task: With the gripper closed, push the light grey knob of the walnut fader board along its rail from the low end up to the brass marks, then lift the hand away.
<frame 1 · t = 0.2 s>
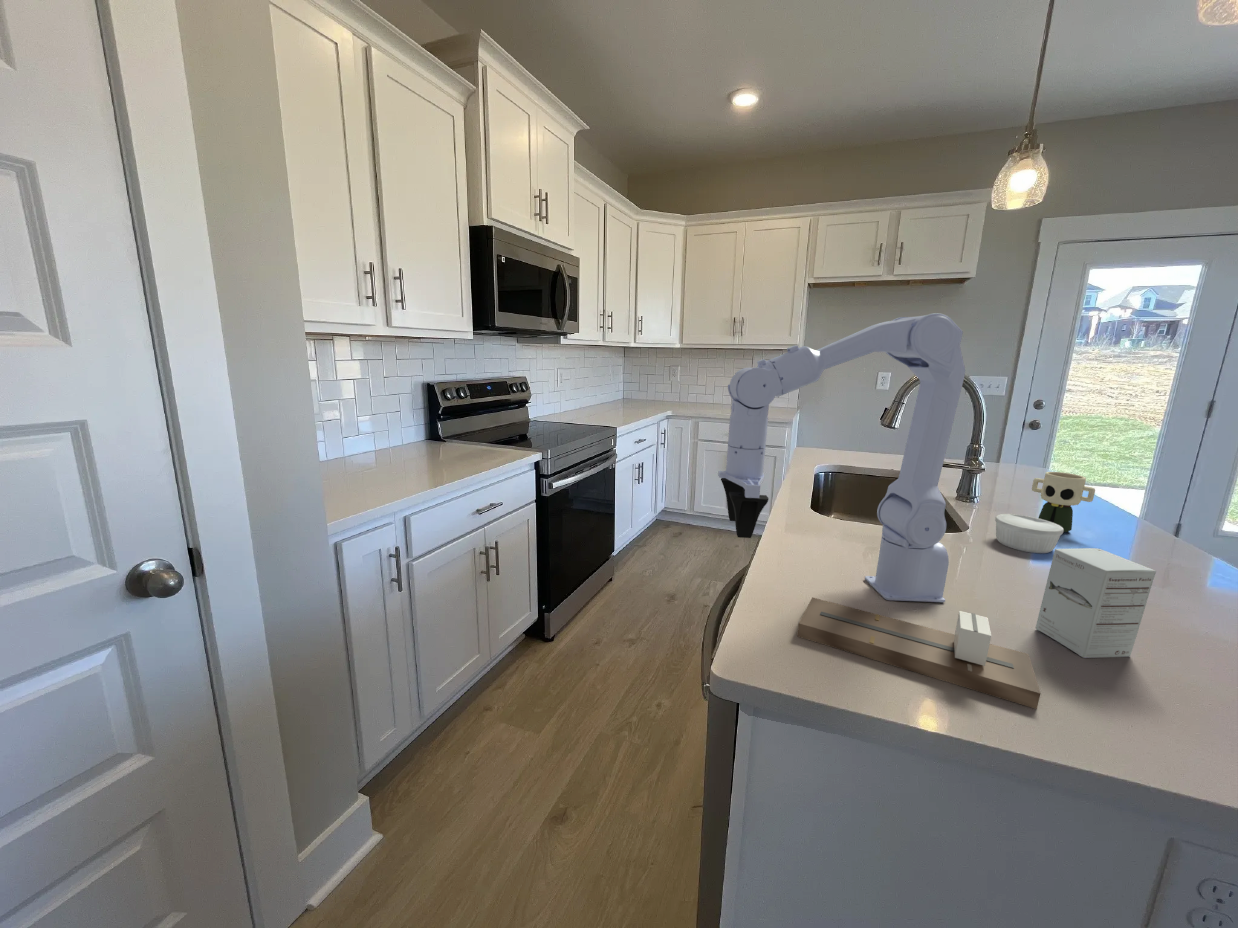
hand: (739, 528, 82), 10 cm above the counter, tool pointing down, fingers open, 7 cm apart
character mug: (1052, 530, 117), on the counter
fader board: (906, 651, 67), on the counter
fader knob: (971, 636, 63), point 4 cm above the counter, slide at 0.0 cm
ramekin: (1023, 546, 107), on the counter
supplement box: (1080, 644, 70), on the counter
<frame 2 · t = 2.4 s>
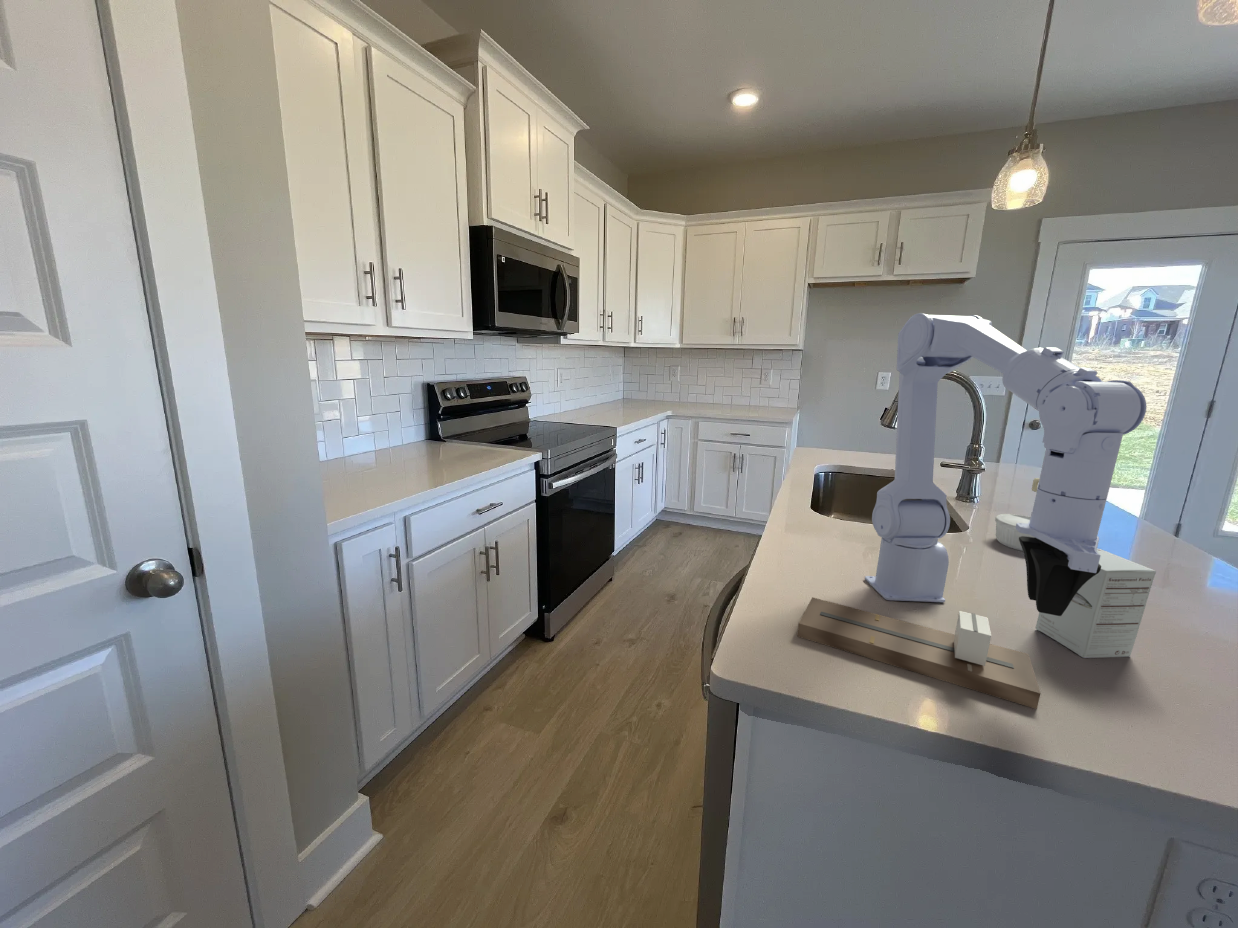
hand: (1044, 606, 58), 10 cm above the counter, tool pointing down, fingers open, 3 cm apart
nothing on the counter moved.
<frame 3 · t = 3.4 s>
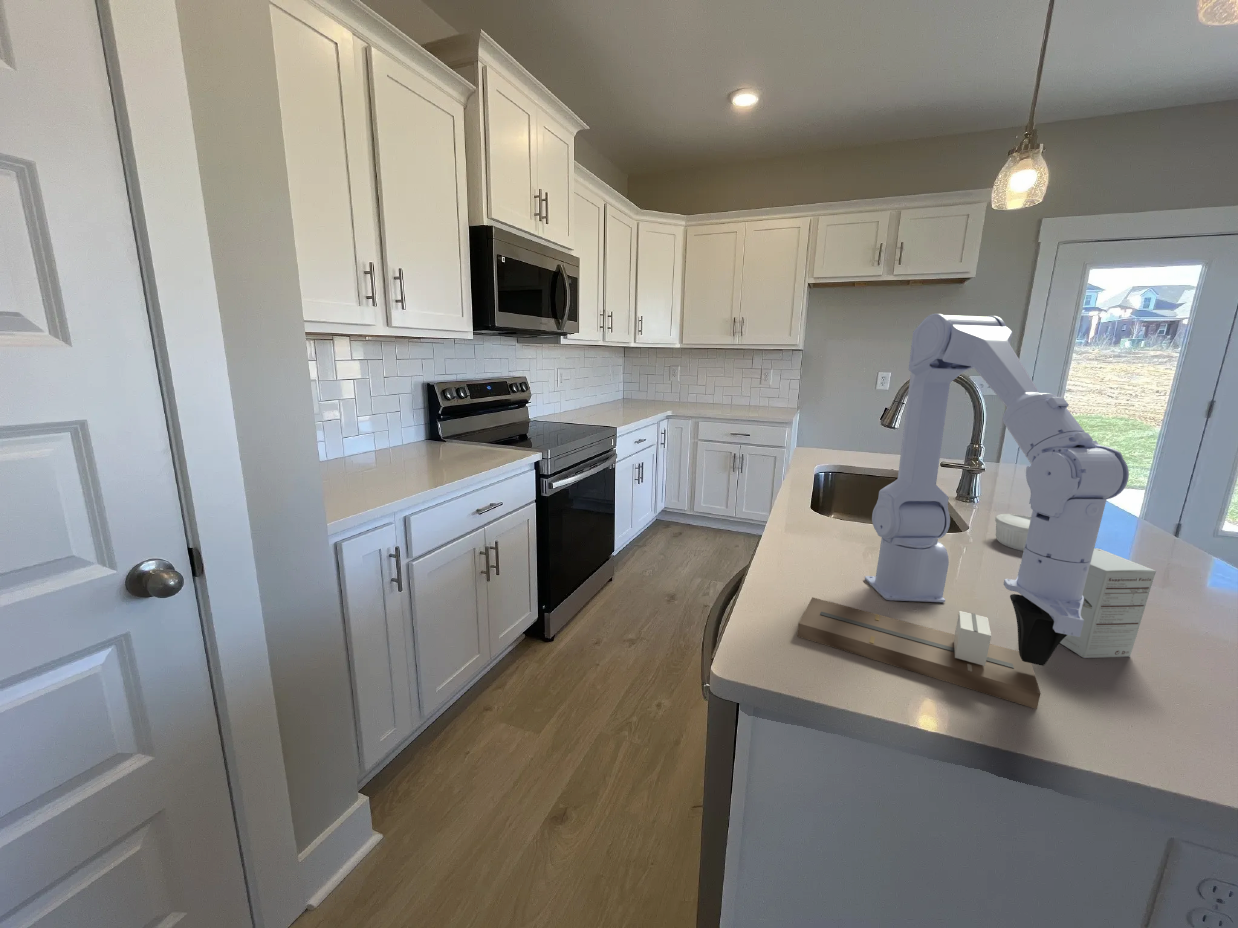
hand: (1031, 660, 60), 3 cm above the counter, tool pointing down, fingers closed
nothing on the counter moved.
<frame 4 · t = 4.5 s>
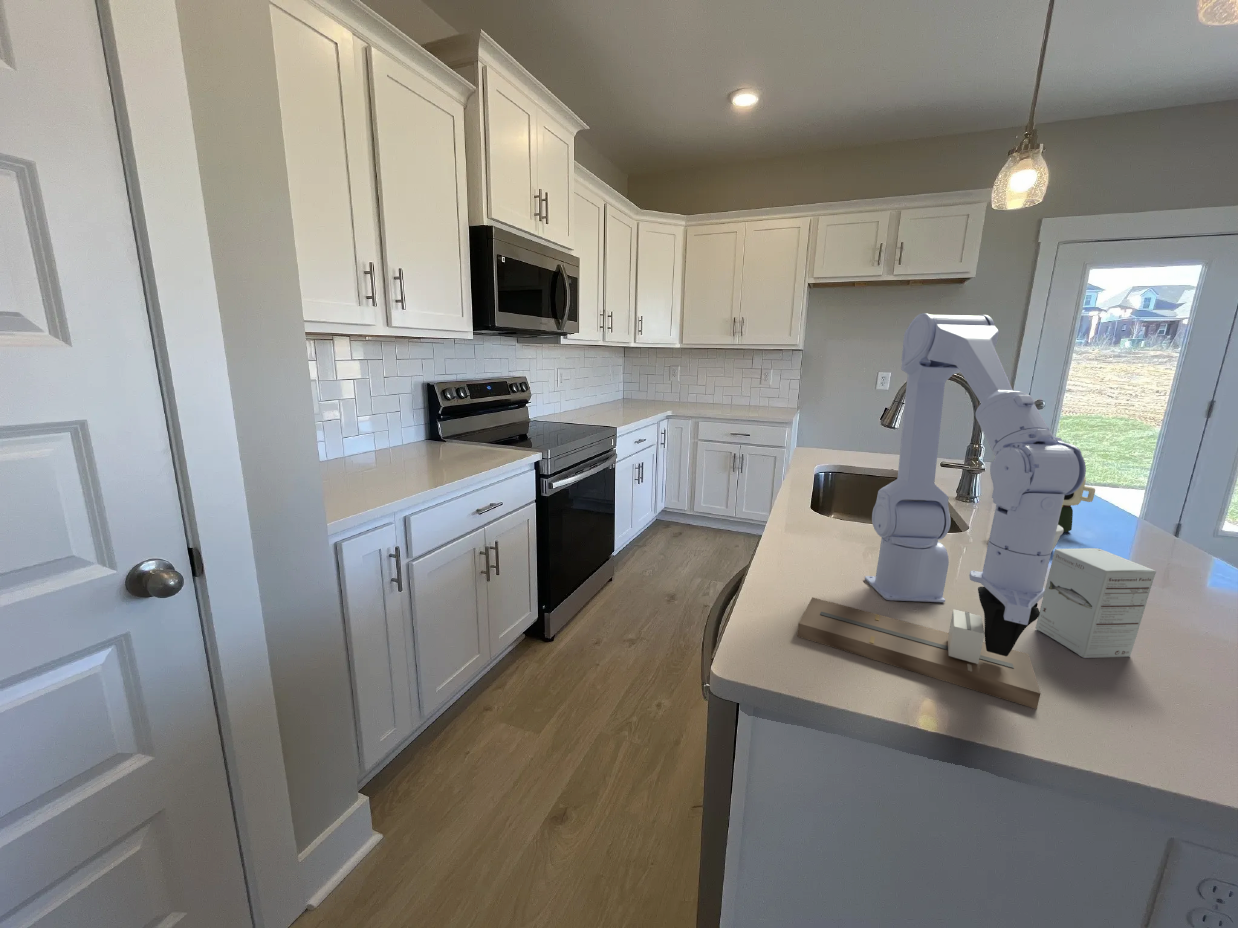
hand: (996, 651, 61), 3 cm above the counter, tool pointing down, fingers closed, pressing on fader knob
fader knob: (965, 635, 63), point 4 cm above the counter, slide at 0.7 cm, touching gripper
everything else where it was.
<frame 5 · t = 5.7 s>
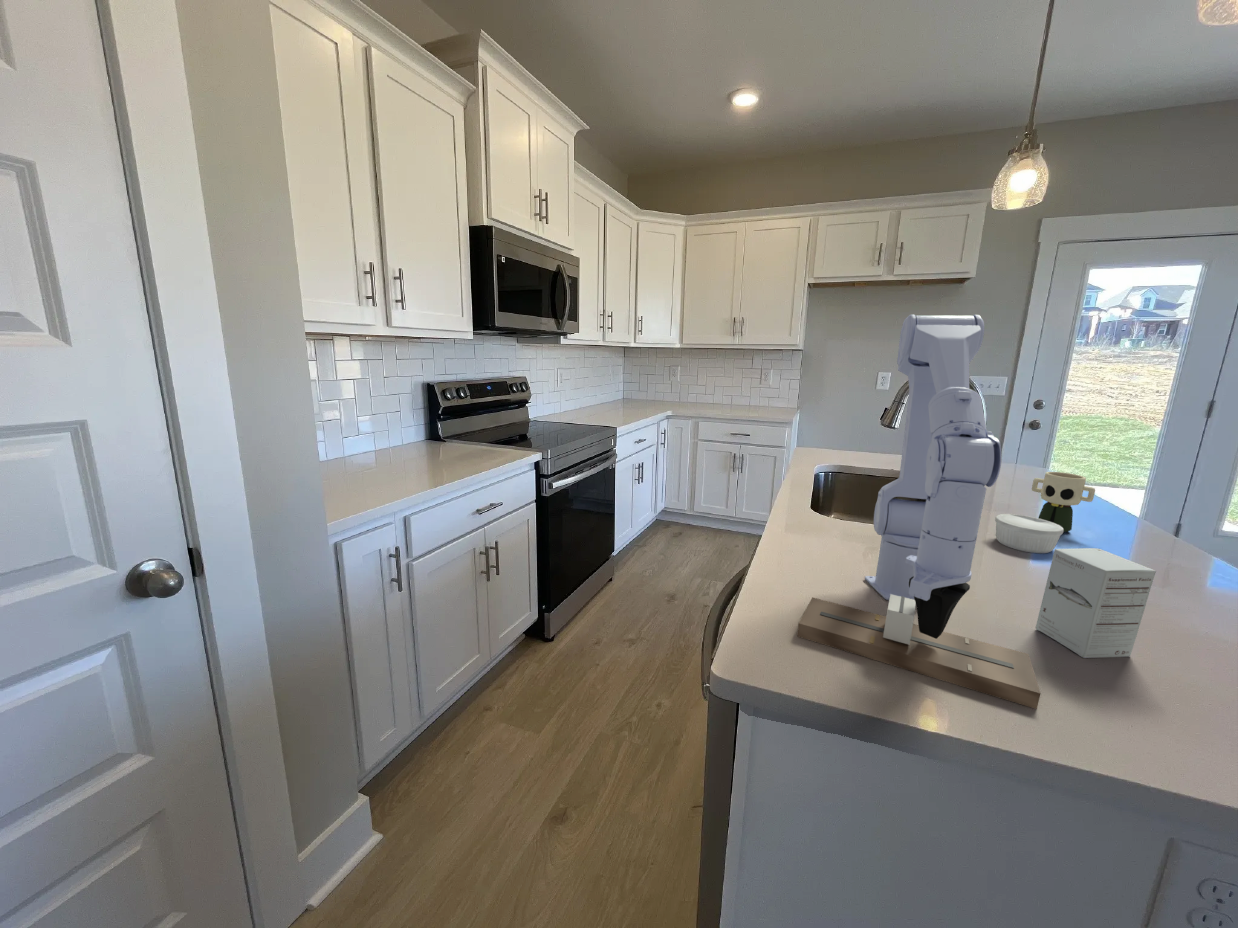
hand: (930, 633, 65), 3 cm above the counter, tool pointing down, fingers closed
fader knob: (899, 618, 67), point 4 cm above the counter, slide at 7.9 cm, touching gripper
everything else where it was.
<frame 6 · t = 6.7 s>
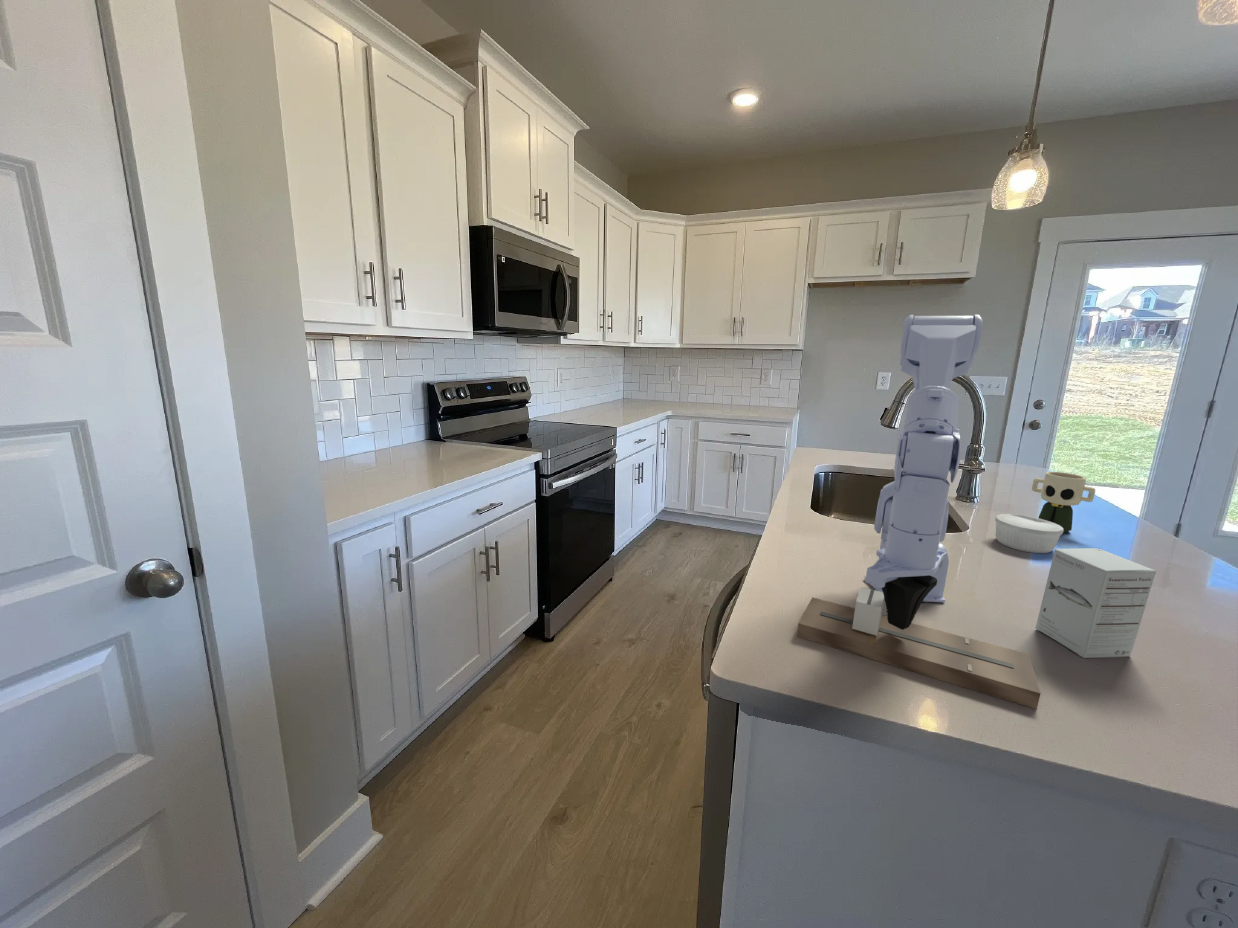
hand: (898, 624, 67), 3 cm above the counter, tool pointing down, fingers closed
fader knob: (868, 610, 68), point 4 cm above the counter, slide at 11.6 cm, touching gripper
everything else where it was.
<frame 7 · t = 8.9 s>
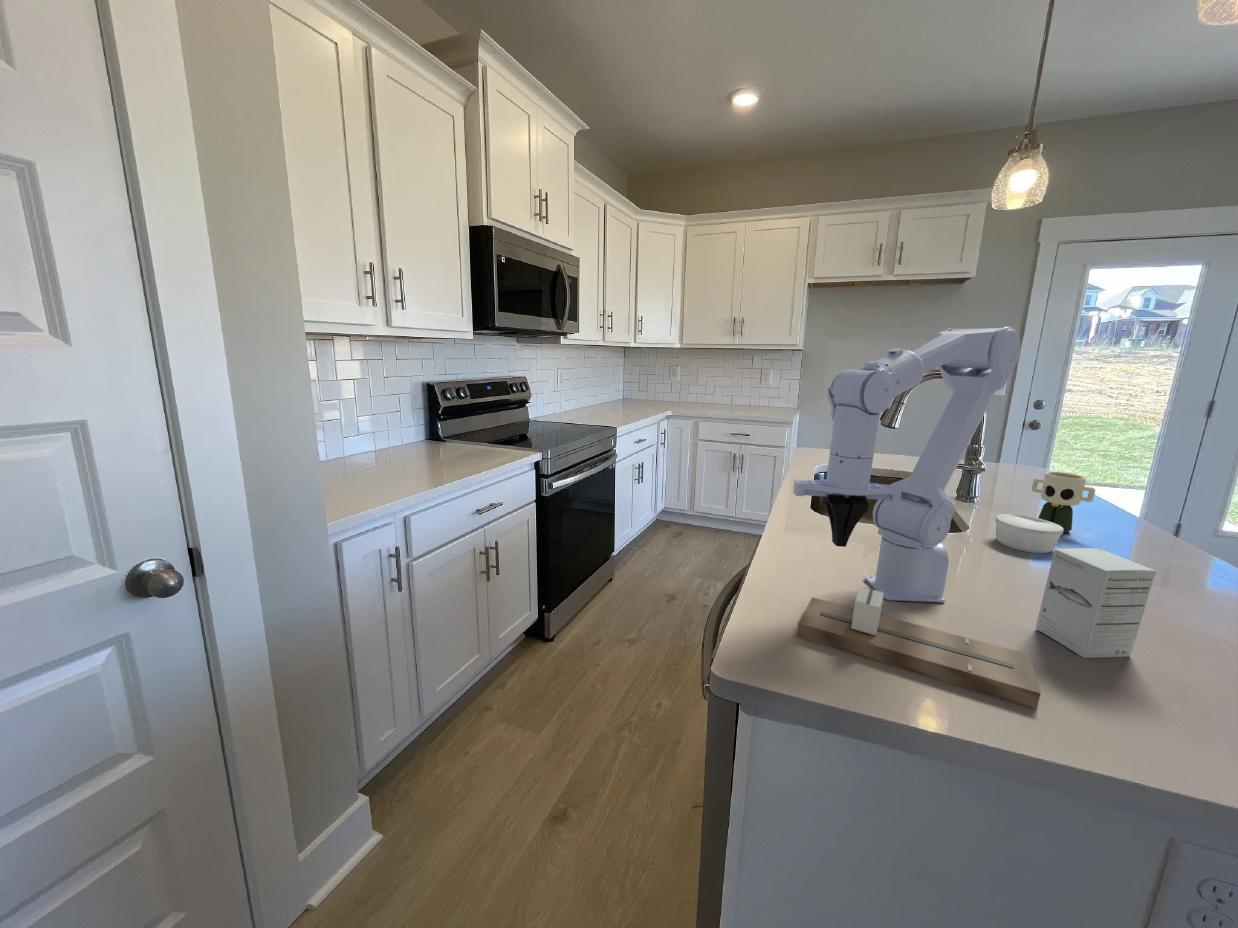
hand: (838, 544, 75), 10 cm above the counter, tool pointing down, fingers closed
fader knob: (867, 609, 68), point 4 cm above the counter, slide at 11.7 cm
everything else where it was.
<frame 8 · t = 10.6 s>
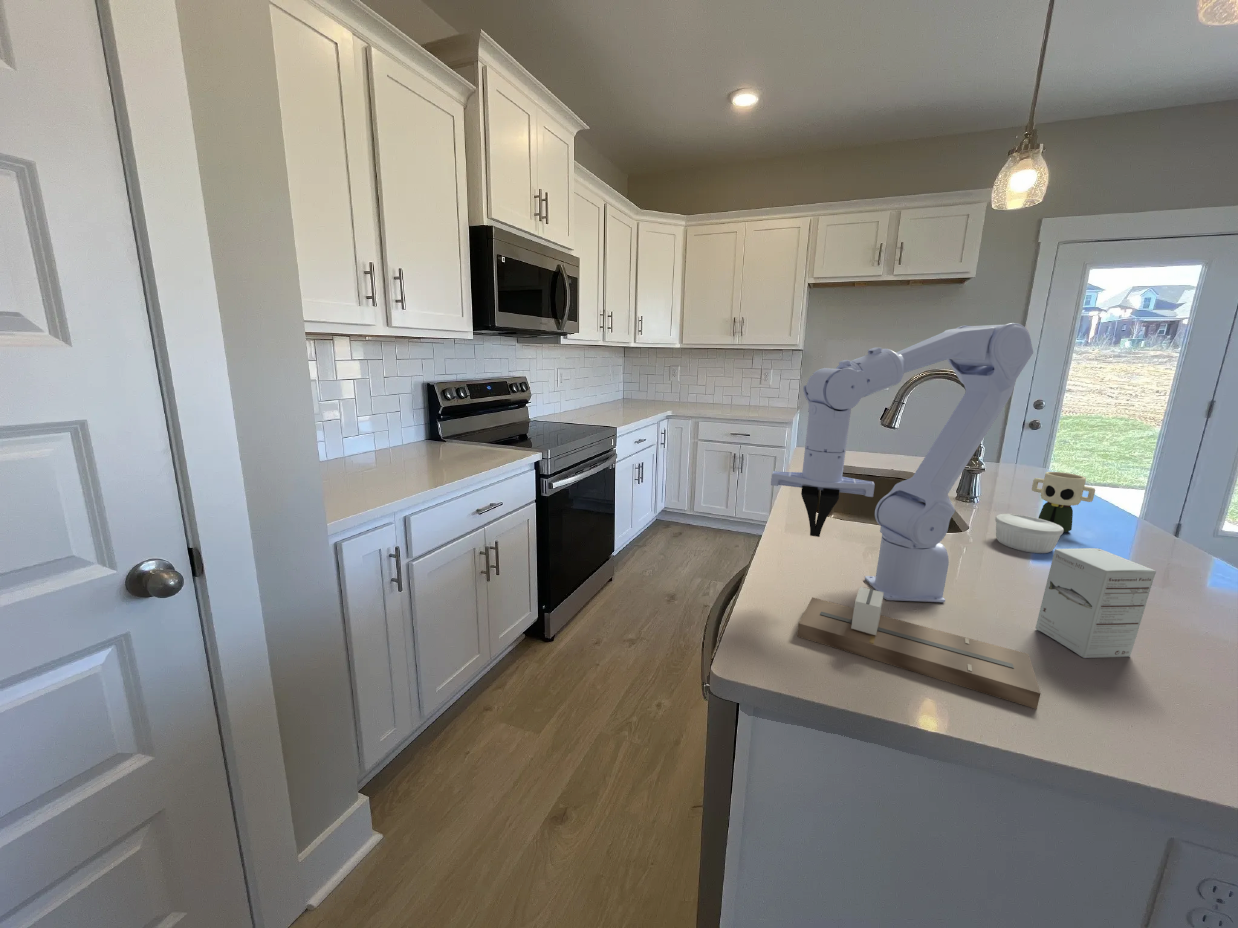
hand: (814, 534, 79), 10 cm above the counter, tool pointing down, fingers closed
nothing on the counter moved.
at the end: fader knob slide at 11.7 cm; supplement box moved 0.2 cm from its start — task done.
